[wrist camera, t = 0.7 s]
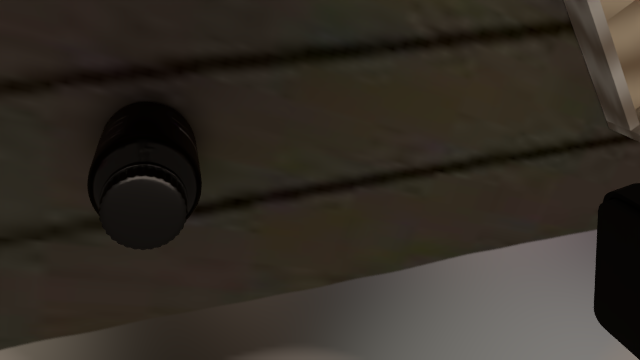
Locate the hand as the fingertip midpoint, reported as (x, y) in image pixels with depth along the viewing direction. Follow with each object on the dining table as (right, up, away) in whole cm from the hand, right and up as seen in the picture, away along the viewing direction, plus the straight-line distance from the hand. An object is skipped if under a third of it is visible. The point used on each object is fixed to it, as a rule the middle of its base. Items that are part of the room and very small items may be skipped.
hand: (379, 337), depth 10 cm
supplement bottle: (-14, +6, +31) cm, 34 cm away
